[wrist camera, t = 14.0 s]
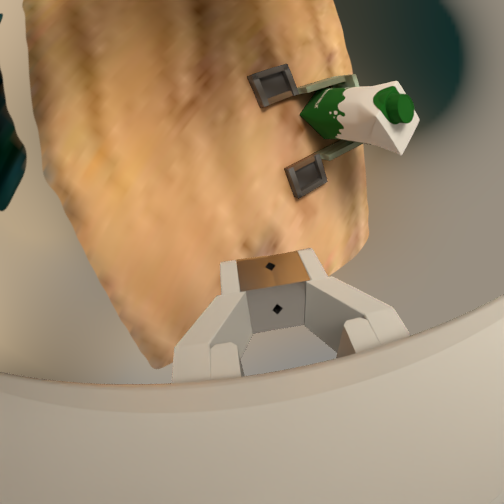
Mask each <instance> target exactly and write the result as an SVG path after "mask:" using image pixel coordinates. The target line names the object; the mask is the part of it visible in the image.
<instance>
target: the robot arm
mask: <svg viewBox="0 0 504 504" xmlns="http://www.w3.org/2000/svg"><path fill="white" fill-rule="evenodd" d="M236 261H237V263H236ZM220 278H221V295H218V296H216V297H215V298H214V300H213V301H212V302H211V303H210V305H209V306H208V307H207V308H206V309H205V311H204V312H203V313H202V314H201V316H200V317H199V318H198V319H197V320H196V322H195V323H194V324H193V325H192V326H191V328H190V329H189V330H188V331H187V333H186V334H185V335H184V336H183V337H182V339H181V340H180V341H179V342H178V344H177V345H176V346H175V347H174V358H173V372H172V383H170V384H139V385H137V384H135V385H134V384H132V385H127V384H92V383H76V382H65V381H55V380H46V379H38V378H32V377H25V376H19V375H14V374H8V373H3V372H0V504H504V294H503V295H502V296H500V297H498V298H496V299H494V300H492V301H490V302H488V303H486V304H484V305H482V306H480V307H478V308H476V309H474V310H472V311H470V312H467V313H465V314H463V315H461V316H459V317H456V318H454V319H452V320H449V321H447V322H445V323H442V324H440V325H437V326H435V327H432V328H430V329H427V330H425V331H422V332H419V333H417V334H414V335H410V333H409V332H408V330H407V329H406V327H405V325H404V324H403V322H402V320H401V319H400V317H399V316H398V314H397V313H396V311H395V310H394V308H393V307H391V306H389V305H387V304H385V303H383V302H382V301H380V300H378V299H376V298H374V297H372V296H370V295H368V294H366V293H364V292H362V291H360V290H358V289H356V288H354V287H352V286H350V285H348V284H346V283H344V282H342V281H340V280H339V279H337V278H335V277H328V276H327V274H326V272H325V270H324V268H323V267H322V265H321V263H320V261H319V259H318V258H317V256H316V254H315V252H314V250H313V249H312V248H308V249H303V250H297V251H293V252H288V253H282V254H276V255H270V256H260V257H253V258H245V259H238V260H231V261H224V262H221V263H220ZM300 325H305V327H307V328H308V329H309V330H310V331H311V332H313V333H314V334H315V335H316V336H317V337H319V338H320V339H321V340H322V341H323V342H325V343H326V344H327V345H328V346H329V347H331V348H332V349H333V350H334V351H336V352H337V357H336V359H332V360H328V361H324V362H319V363H315V364H310V365H306V366H301V367H296V368H291V369H286V370H282V371H275V372H270V373H264V374H257V375H251V376H244V372H243V368H242V364H241V358H242V356H243V354H244V352H245V350H246V348H247V346H248V344H249V342H250V340H251V338H252V336H253V334H255V333H260V332H265V331H270V330H275V329H281V328H288V327H294V326H300Z"/></svg>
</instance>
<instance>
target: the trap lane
mask: <svg viewBox="0 0 504 504" xmlns="http://www.w3.org/2000/svg"><path fill="white" fill-rule="evenodd" d="M247 78H248V80H249V82H250V84H251V87H252V89H253V91H254V94H255V96H256V99H257V101H258V103H259V106H260V108H261V107H266V106H268V105H270V104H272V103H275V102H278V101H280V100H283V99H286V98H288V97H291V96H295V95H298V94H303V93H309V92H312V91H315V90H318V89H321V88H324V87H327V86H331V85H332V86H333V88H347V87H360V86H359V84H358V80H357V77H356V74H352V75H343V76H335V77H331V78H327V79H324V80H320V81H317V82H314V83H310V84H307V85H304V86H301V87H298V88H297V87H296V84H295V82H294V79H293V76H292V74H291V71H290V69H289V67H288V64H284V65H280V66H277V67H274V68H270V69H267V70H264V71H261V72H258V73H255V74H252V75H249V76H247ZM361 144H363V143H362V142H355V141H349V140H340V141H338V142H336V143H334V144H331V145H329V146H327V147H325V148H323V149H321V150H319V151H317V152H315V153H313V154H311V155H309V156H307V157H305V158H304V159H302V160H300V161H298V162H296V163H294V164H292V165H290V166H288V167H286V168H284V170H285V172H286V175H287V178H288V181H289V184H290V186H291V189H292V192H293V195H294V197H296V198H298V199H299V198H301V197H302V196H304V195H306V194H307V193H309V192H311V191H313V190H314V189H316V188H318V187H319V186H321V185H323V184H325V183H326V182H328V181H327V177H326V174H325V170H324V167H323V164H322V160H321V159H324V160H328V161H330V160H332V159H334V158H336V157H338V156H340V155H342V154H344V153H346V152H348V151H350V150H351V149H353V148H355V147H357V146H359V145H361ZM364 144H368V143H364ZM370 145H371V144H370Z"/></svg>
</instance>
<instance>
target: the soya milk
mask: <svg viewBox="0 0 504 504" xmlns="http://www.w3.org/2000/svg"><path fill="white" fill-rule="evenodd" d="M300 116H301V117H302V118H303V119H304V120H306V121H307V122H308V123H309V124H310V125H311V126H312V127H313V128H314V129H315V130H316V131H317V132H318V133H319V134H320V135H321V136H322V137H323V138H324V139H342V140H349V141H355V142H362V143H368V144H373V145H376V146H379V147H382V148H384V149H387V150H390V151H392V152H395V153H397V154H399V155H402V154H403V152H404V150H405V148H406V146H407V144H408V142H409V140H410V138H411V137H412V134H413V133H414V131H415V129H416V127H417V124H418V122H419V118H418V116H417V114H416V112H415V110H414V105H413V102H412V100H411V98H410V97H409V96H408V95H406V94H405V92H404V90H403V89H402V87H401V86H400V84H399V83H398V81H393V82H389V83H385V84H380V85H377V86H370V87H347V88H321V89H318V90H317V91H316V93H315V94H314V95H313V97H312V98H311V99H310V101H309V102H308V104H307V105H306V106H305V108H304V109H303V110H302V112H301V113H300Z"/></svg>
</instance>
